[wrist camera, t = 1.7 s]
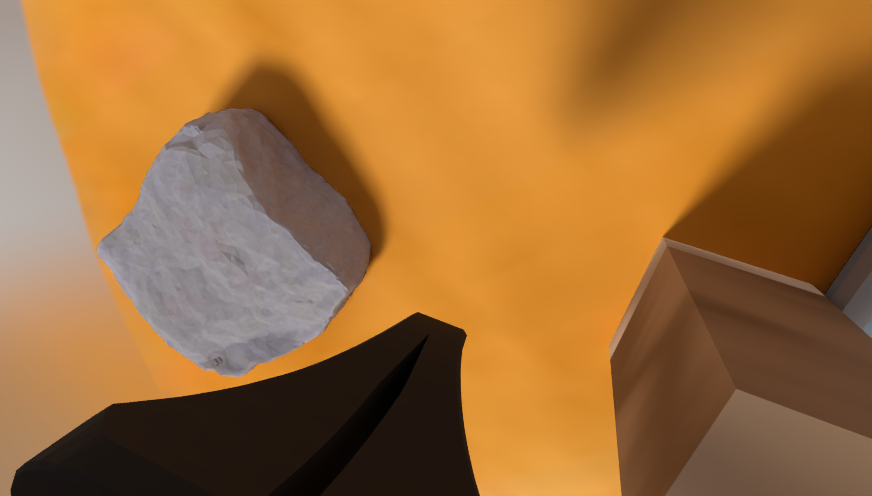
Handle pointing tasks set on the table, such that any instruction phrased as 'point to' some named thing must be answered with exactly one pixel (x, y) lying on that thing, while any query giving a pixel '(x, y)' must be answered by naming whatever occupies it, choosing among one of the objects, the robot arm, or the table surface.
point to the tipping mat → (855, 286)
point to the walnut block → (738, 384)
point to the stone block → (236, 245)
